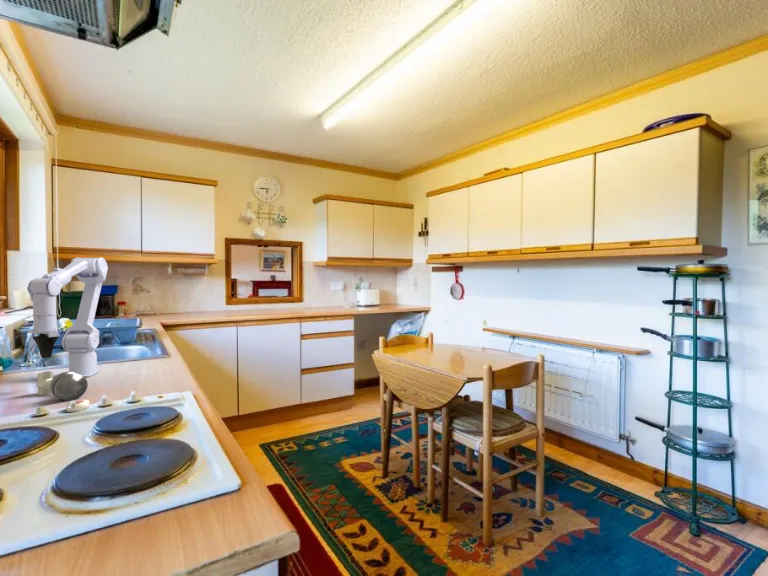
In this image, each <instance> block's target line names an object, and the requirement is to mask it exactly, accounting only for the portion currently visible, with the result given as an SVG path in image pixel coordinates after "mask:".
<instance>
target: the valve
mask: <svg viewBox="0 0 768 576" xmlns="http://www.w3.org/2000/svg"><path fill="white" fill-rule="evenodd" d="M79 375H80V374H79ZM36 379H37V381H36V388H37V395H38V396H46V395H53V394H52V393H51V391H50V384H51V382H52V380H53V379H54V371H50V370H49V371H42V372H38V373H37V378H36Z"/></svg>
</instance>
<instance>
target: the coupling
mask: <svg viewBox="0 0 768 576" xmlns="http://www.w3.org/2000/svg"><path fill="white" fill-rule="evenodd" d="M88 384H89V383H88V381H87V377H83V376H82V375H79V374H76V373H74V372H69V371H64V372H61V373H59V374H57V375H55V376H54V377H53V380H52V382H51V384H50V391H51V393H52V394H51V395H53V396H54V397H56V398H59V399H61V400H63V401H69V402H72V401H76V400H79V399H80V398H81V397H82V396H83V395H84V394H85V393H86V391H87V390H88Z"/></svg>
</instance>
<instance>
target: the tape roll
mask: <svg viewBox="0 0 768 576" xmlns="http://www.w3.org/2000/svg"><path fill="white" fill-rule="evenodd" d="M74 401H75V402H76V404H77V405H80V406H82V407H77V408H73V409H70V408H67V407H69V406H70V402H71V401H69V402H66V404H65V411H66V412H67V413H75V412H82V411H85V410H88V409H89V408H90V400H89V399H76V400H74Z"/></svg>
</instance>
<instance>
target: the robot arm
mask: <svg viewBox="0 0 768 576" xmlns="http://www.w3.org/2000/svg"><path fill="white" fill-rule="evenodd" d="M108 270H109V267H108V263H107V260H106V259H105V258H104V257H75V258H73V259H71V260H70V263H69V264H68V265H67V266H65V267H64V268H60V267H55V268H53V269H52V271H50V272H48V273H45V274H44V275H43V276H41V278H40V277H39V278H38V277H37V278H36V277H35V278H33V279H32V280H30V281H29V283H28V285H27V288H26V289H27V292H28V294H29V296H30V301H31V302H32V312H33V313H32V316H33V317H32V318H33V319H32V320H33V321H32V322H33V329H29V330H28V333H30V334H34V335H35V334H36V336H32V339H33V340H34V342H35V343H36V345H37V347H38V351H39V354H40V358H41V359H46V358H47V359H49V358H52V355H53V351H54V347H55V344H56V342H57V341H58V339H59V335H58V330H59V329H58V325H57V324H58V322H57V321H58V319H57V317H58V316H57V296H58V295H60V292H61V290H62V289H63V287H65V286H66V285H67V284H69V283H70V282H71V281H72V277H75V276H76V278H77V279H78V280H79V282H81V283H83V284H84V288H83V292H82V295H81V299H80V303H79V308H78V313H77V314H76V315H77V316H76V320H75V323H74V324H72V325H71V326H69V327H68V328H66V330H65V334H64V335H63V337H62V339H61V346H62V348H63V349H64V350H65V352H66V353H68V372H74V373H76V374H80V375H82V376H83V377H85V378H88V377H91V376H93V375H95V374H97V373H100V372H101V369H98V355H97V353H96V351H95V350H96V349H97V348H98V346H99V344H100V330H98V328H97V327H95V326H94V322H95V321H94V320H95V317H96V312H97V309H98V308H97V307H98V304H99V298H100V295H101V290H102V286H103V282H105V281H106V278H107V275H108V274H107V273H108ZM38 334H39V335H38Z"/></svg>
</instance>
